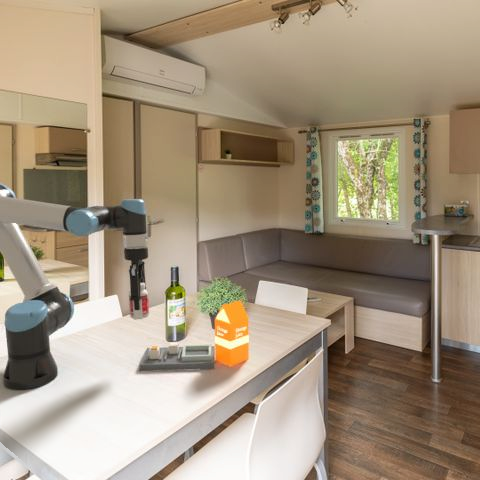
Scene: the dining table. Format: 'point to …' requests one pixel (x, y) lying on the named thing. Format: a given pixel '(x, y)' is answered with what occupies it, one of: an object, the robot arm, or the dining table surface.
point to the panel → (181, 359)
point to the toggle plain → (173, 348)
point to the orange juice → (232, 334)
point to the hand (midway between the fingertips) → (140, 315)
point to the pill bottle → (144, 302)
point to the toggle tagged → (154, 352)
